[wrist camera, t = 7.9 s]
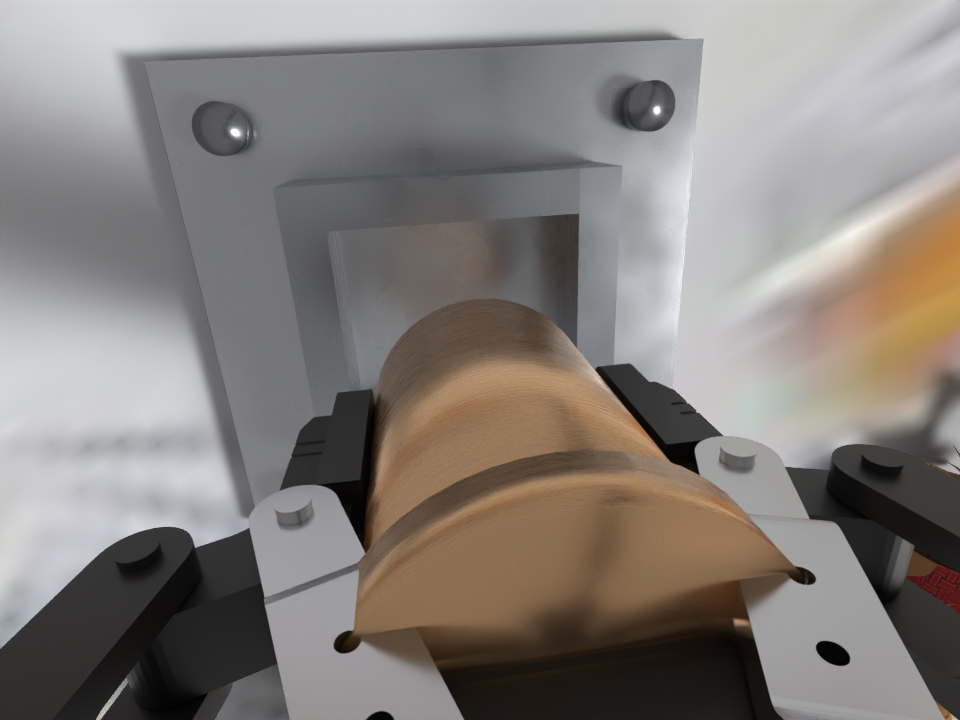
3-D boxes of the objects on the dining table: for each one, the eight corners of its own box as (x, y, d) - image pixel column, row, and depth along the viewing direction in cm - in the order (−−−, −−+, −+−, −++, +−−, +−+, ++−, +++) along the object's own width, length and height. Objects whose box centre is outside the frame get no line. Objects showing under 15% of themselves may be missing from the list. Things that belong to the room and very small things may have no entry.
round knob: (346, 297, 12) (262, 552, 5) (599, 275, 13) (877, 472, 5) (378, 511, 14) (354, 919, 7) (593, 484, 15) (785, 834, 7)
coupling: (155, 64, 16) (98, 49, 13) (690, 42, 18) (751, 23, 15) (266, 521, 22) (244, 582, 19) (655, 473, 24) (692, 524, 21)
